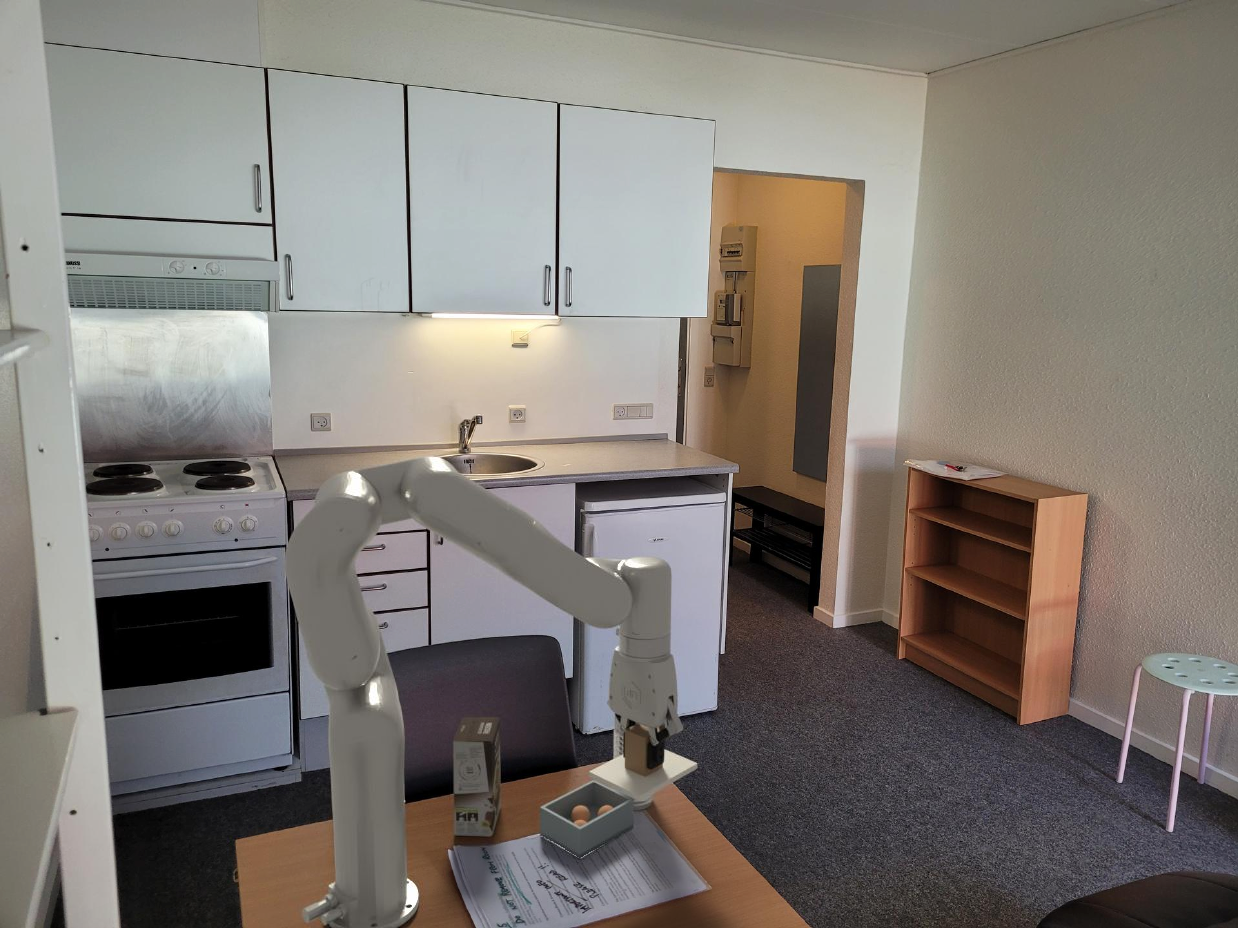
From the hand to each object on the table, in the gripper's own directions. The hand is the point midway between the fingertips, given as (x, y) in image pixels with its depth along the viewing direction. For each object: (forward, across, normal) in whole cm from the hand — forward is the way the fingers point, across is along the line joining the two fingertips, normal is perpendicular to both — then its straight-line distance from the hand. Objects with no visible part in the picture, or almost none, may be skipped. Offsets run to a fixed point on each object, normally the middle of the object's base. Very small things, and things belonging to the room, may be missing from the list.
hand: (643, 759), depth 137 cm
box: (+16, -12, 0) cm, 20 cm away
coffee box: (+17, -27, -10) cm, 33 cm away
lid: (+2, 0, 0) cm, 2 cm away
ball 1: (+14, -13, 0) cm, 19 cm away
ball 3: (+14, -10, +3) cm, 18 cm away
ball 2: (+14, -10, -3) cm, 18 cm away
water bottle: (+17, -13, +12) cm, 24 cm away
